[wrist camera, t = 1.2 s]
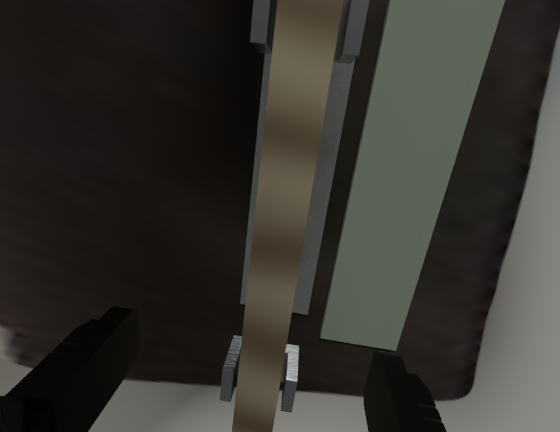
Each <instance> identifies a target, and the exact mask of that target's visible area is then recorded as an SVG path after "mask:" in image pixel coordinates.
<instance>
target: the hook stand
mask: <svg viewBox="0 0 560 432" xmlns="http://www.w3.org/2000/svg"><path fill="white" fill-rule="evenodd" d="M277 1H278V0H254V1H253V12H252V24H251V36H250V42H251V43H252V44H253V45H254V46H255V48H256V49H257V50H258V51H259V52H260V53H265V59H264V69H263V79H262V89H261V99H260V109H259V119H258V129H257V140H256V150H255V160H254V170H253V180H252V190H251V200H250V210H249V220H248V230H247V241H246V251H245V261H244V271H243V281H242V291H241V301H240V304H244V305H245V304H246V295H247V285H248V276H249V266H250V257H251V247H252V238H253V228H254V219H255V209H256V200H257V191H258V181H259V172H260V162H261V153H262V143H263V134H264V124H265V115H266V105H267V96H268V86H269V77H270V68H271V58H272V49H273V39H274V30H275V20H276V11H277ZM368 4H369V0H343V6H342V12H341V18H340V24H339V30H338V36H337V42H336V48H335V54H334V60H333V66H332V72H331V78H330V84H329V90H328V96H327V102H326V108H325V115H324V121H323V127H322V133H321V139H320V145H319V151H318V157H317V163H316V169H315V175H314V181H313V187H312V193H311V199H310V205H309V211H308V217H307V223H306V230H305V236H304V242H303V248H302V254H301V260H300V266H299V272H298V278H297V284H296V290H295V296H294V302H293V308H292V312H294V313H300V314H306V315H308V310H309V304H310V299H311V293H312V288H313V283H314V277H315V272H316V267H317V261H318V256H319V250H320V245H321V240H322V234H323V229H324V223H325V218H326V213H327V207H328V202H329V197H330V191H331V186H332V180H333V175H334V170H335V164H336V159H337V153H338V148H339V143H340V137H341V132H342V127H343V121H344V116H345V110H346V105H347V100H348V94H349V89H350V83H351V78H352V73H353V67H354V62H355V59H356V58H357V57H358V56H359V52H360V47H361V42H362V36H363V31H364V26H365V20H366V15H367V10H368ZM241 342H242V336H237V335H234V336H233V339H232V342H231V345H230V348H229V351H228V354H227V357H226V360H225V363H224V366H223V370H222V382H221V394H220V400H223V401H228V402H230V401H231V398H232V394H233V391H234V387H235V383H236V380H237V376H238V370H239V361H240V351H241ZM298 356H299V346H296V345H290V344H286V351H285V357H284V363H283V369H282V375H281V381H280V382H284V383H283V393H282V403H281V411H285V412H292V407H293V402H294V397H295V391H296V386H297V377H298Z"/></svg>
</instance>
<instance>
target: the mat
mask: <svg viewBox="0 0 560 432" xmlns="http://www.w3.org/2000/svg"><path fill="white" fill-rule="evenodd" d="M504 2H505V0H389V1H388V5H387V10H386V15H385V20H384V25H383V30H382V35H381V39H380V44H379V49H378V54H377V59H376V64H375V69H374V73H373V78H372V83H371V88H370V93H369V98H368V102H367V107H366V112H365V117H364V122H363V127H362V132H361V136H360V141H359V146H358V151H357V156H356V161H355V166H354V170H353V175H352V180H351V185H350V190H349V195H348V199H347V204H346V209H345V214H344V219H343V224H342V229H341V233H340V238H339V243H338V248H337V253H336V258H335V263H334V267H333V272H332V277H331V282H330V287H329V292H328V296H327V301H326V306H325V311H324V316H323V321H322V326H321V330H320V338H322V339H328V340H334V341H340V342H346V343H352V344H358V345H364V346H370V347H376V348H382V349H388V350H394V351H396V348H397V345H398V342H399V339H400V335H401V332H402V329H403V326H404V323H405V319H406V316H407V313H408V310H409V307H410V303H411V300H412V297H413V294H414V291H415V287H416V284H417V281H418V278H419V275H420V271H421V268H422V265H423V262H424V258H425V255H426V252H427V249H428V246H429V242H430V239H431V236H432V233H433V230H434V226H435V223H436V220H437V217H438V214H439V210H440V207H441V204H442V201H443V198H444V194H445V191H446V188H447V185H448V181H449V178H450V175H451V172H452V169H453V165H454V162H455V159H456V156H457V153H458V149H459V146H460V143H461V140H462V137H463V133H464V130H465V127H466V124H467V121H468V117H469V114H470V111H471V108H472V104H473V101H474V98H475V95H476V92H477V88H478V85H479V82H480V79H481V76H482V72H483V69H484V66H485V63H486V60H487V56H488V53H489V50H490V47H491V44H492V40H493V37H494V34H495V31H496V27H497V24H498V21H499V18H500V15H501V11H502V8H503V5H504Z"/></svg>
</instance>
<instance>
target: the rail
mask: <svg viewBox="0 0 560 432" xmlns="http://www.w3.org/2000/svg"><path fill="white" fill-rule="evenodd" d="M342 6H343V0H278V1H277V11H276V20H275V30H274V39H273V49H272V58H271V68H270V77H269V86H268V96H267V105H266V115H265V124H264V134H263V143H262V153H261V162H260V172H259V181H258V191H257V200H256V209H255V219H254V228H253V238H252V247H251V257H250V266H249V276H248V285H247V295H246V304H245V314H244V323H243V333H242V342H241V351H240V361H239V370H238V380H237V389H236V399H235V408H234V418H233V427H232V432H272V429H273V423H274V417H275V411H276V405H277V398H278V393H279V387H280V381H281V375H282V369H283V363H284V357H285V351H286V344H287V338H288V332H289V326H290V320H291V314H292V308H293V302H294V296H295V290H296V284H297V278H298V272H299V266H300V260H301V254H302V248H303V242H304V236H305V230H306V223H307V217H308V211H309V205H310V199H311V193H312V187H313V181H314V175H315V169H316V163H317V157H318V151H319V145H320V139H321V133H322V127H323V121H324V115H325V108H326V102H327V96H328V90H329V84H330V78H331V72H332V66H333V60H334V54H335V48H336V42H337V36H338V30H339V24H340V18H341V12H342Z"/></svg>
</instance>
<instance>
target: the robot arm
mask: <svg viewBox="0 0 560 432" xmlns="http://www.w3.org/2000/svg"><path fill="white" fill-rule="evenodd" d="M138 351H139V317H138V312H137V310H134V309H128V308H122V307H116V306H114V307H111V308H110V309H109V310H108V311H107V312H106V313H105V314H104V315H103V316H102V317H101V318H100V319H99V320H95V319H92V320H90V321H89V322H87V323H85V324H83V325H81V326H79V327H78V328H76V329H75V330H74V331H73V332H72V333H71V334H70V335H69V336H67V337H66V338H65V339H64V340H63V343H60V344H59V345H58V346H57V347H56V348H55V349H54V350H53V352H52V353H50V354H49V355H47V356H46V357H45V358H44V359H43V360H42V361H41V362H40V363H39V364H38V365H37V366H36V367H35V368H34V369H33V370H32V371H31V372H30V373H29V374H27V375H26V377H24V378H23V379H22V380H21V381H20V382H19V383H18V384H17V385H16V386H15V387H14V388H13V389H12V390H11V391H10V392H9V393H8V394H6V395H5V396H0V432H88V431H89V429H90V428H91V426H92V425H93V424H94V422H95V420H96V419H97V418H98V416H99V414H100V413H101V412H102V410H103V409H104V407H105V406H106V404H107V403H108V401H109V400H110V399H111V397H112V396H113V394H114V393H115V391H116V390H117V388H118V387H119V385H120V384H121V383H122V381H123V380H124V378H125V377H126V375H127V374H128V372H129V371H130V369H131V368H132V366H133V365H134V363H135V361H136V358H137V355H138ZM364 409H365V414H366V420H367V425H368V431H369V432H446V429H445V427H444V424H443V423H442V422H441V417H440V415H439V412H438V410H437V409H436V406H435V403H434V400H433V398H432V396H431V393H430V391H429V389H428V388H427V387H426V385H425V384H424V383H423V382H422V380H421V379H420V378H419V377H418V376H417V375H416V374H410V373H407V370H406V367H405V365H404V362H403V359H402V357H401V355H399V354H394V353H388V352H382V351H375V353H374V355H373V359H372V362H371V366H370V369H369V373H368V376H367V380H366V384H365V388H364Z"/></svg>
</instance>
